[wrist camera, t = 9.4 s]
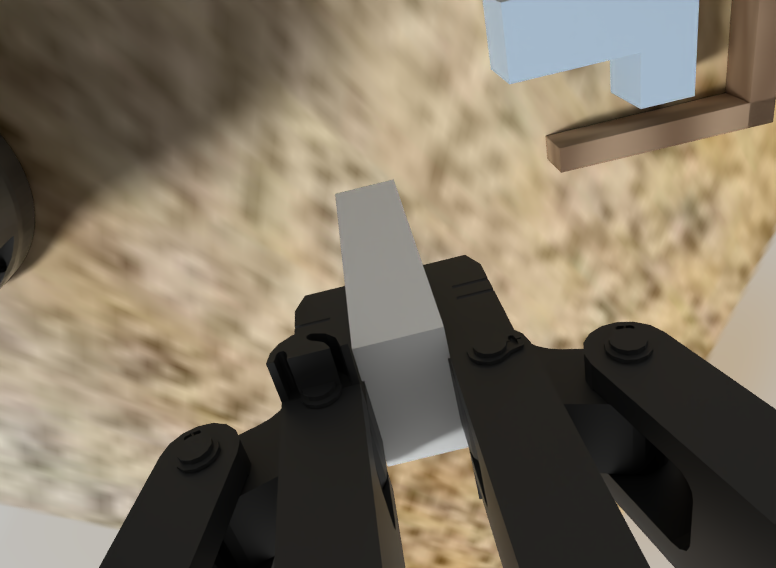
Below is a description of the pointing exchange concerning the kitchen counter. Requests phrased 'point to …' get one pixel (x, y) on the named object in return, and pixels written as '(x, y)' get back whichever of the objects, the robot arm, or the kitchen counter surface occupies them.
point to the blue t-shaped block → (599, 43)
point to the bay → (695, 118)
